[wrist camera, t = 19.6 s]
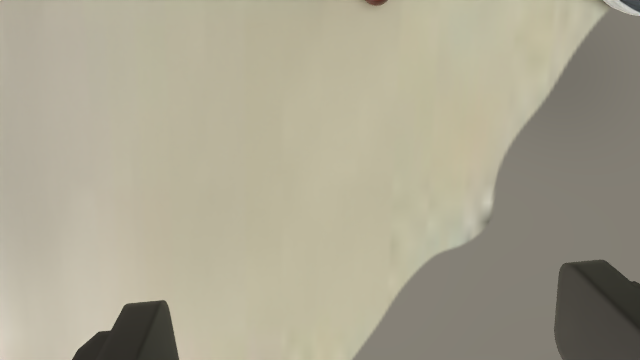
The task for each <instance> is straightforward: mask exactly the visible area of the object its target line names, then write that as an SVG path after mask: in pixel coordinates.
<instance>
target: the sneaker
mask: <svg viewBox="0 0 640 360" xmlns="http://www.w3.org/2000/svg"><path fill="white" fill-rule="evenodd" d="M603 1H604V2H605V3H607V4H608V5H609V6H611V7H612V8H614V9H616V10H619V11H621V12H624V13H627V14H630V15H636V16H640V0H603Z"/></svg>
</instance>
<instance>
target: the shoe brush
mask: <svg viewBox="0 0 640 360" xmlns="http://www.w3.org/2000/svg"><path fill="white" fill-rule="evenodd" d="M365 1H366V2H367V3H369V4H371V5H374V6H378V5H382V4H384V3H385V2H386V1H387V0H365Z"/></svg>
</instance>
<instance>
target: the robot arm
mask: <svg viewBox="0 0 640 360" xmlns="http://www.w3.org/2000/svg"><path fill="white" fill-rule="evenodd" d="M554 332H555V340H556V344H557V348H558V351H559V353H560V355H561V357H562V359H563V360H640V284H639V283H637V282H635V281H633V282H631V281H629V280H628V279H627V278H626V277H625V276H623V275H622V274H621V273H620V272H619V271H617V270H616V269H615V268H614V267H612V266H611V265H610V264H609V263H608V262H606V261H604V260H593V261H582V262H572V263H565V264H563V265H562V267H561V268H560V272H559V280H558V291H557V303H556V315H555V327H554ZM72 360H179V357H178V352H177V347H176V342H175V336H174V331H173V326H172V321H171V316H170V311H169V307H168V305H167V303H166V301H164V300H161V301H150V302H140V303H129V304H126V305H125V306H124V307H123V309H122V311H121V313H120V315H119V317H118V318H117V320H116V322H115V324H114V326H113V328H112V330H111V331H102V332H98V333H97V334H96V335H95V336H93V337H92V338H91V339H90V340H89V341H88V342H86V343H85V344H84V345H83V346H82V347H81V348H79V349H78V351H77V352H76V354H75V356H74V357H73V359H72Z"/></svg>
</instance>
